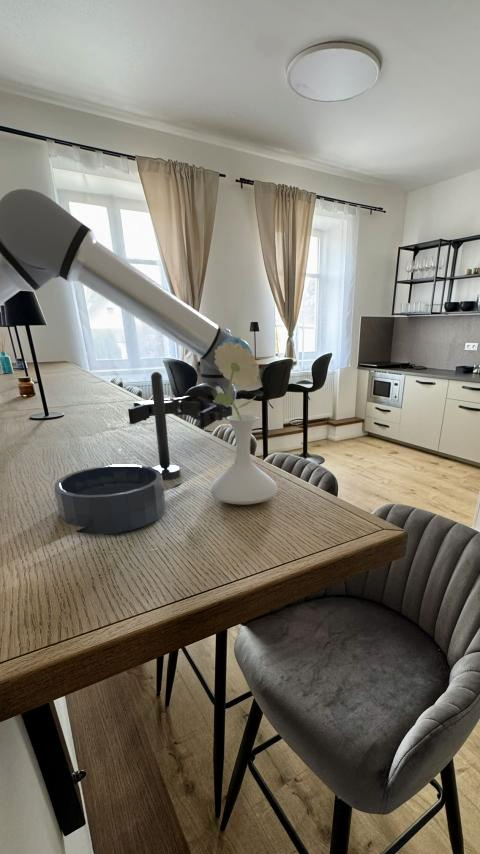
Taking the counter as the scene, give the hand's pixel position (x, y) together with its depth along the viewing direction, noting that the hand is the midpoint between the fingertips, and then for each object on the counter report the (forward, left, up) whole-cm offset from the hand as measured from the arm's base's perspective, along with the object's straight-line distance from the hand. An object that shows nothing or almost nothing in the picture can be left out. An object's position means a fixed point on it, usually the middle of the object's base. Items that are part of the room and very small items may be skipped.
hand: (166, 418), depth 74 cm
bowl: (+4, -17, -12) cm, 21 cm away
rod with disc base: (+1, -2, -12) cm, 12 cm away
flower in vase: (+16, -1, -12) cm, 20 cm away
